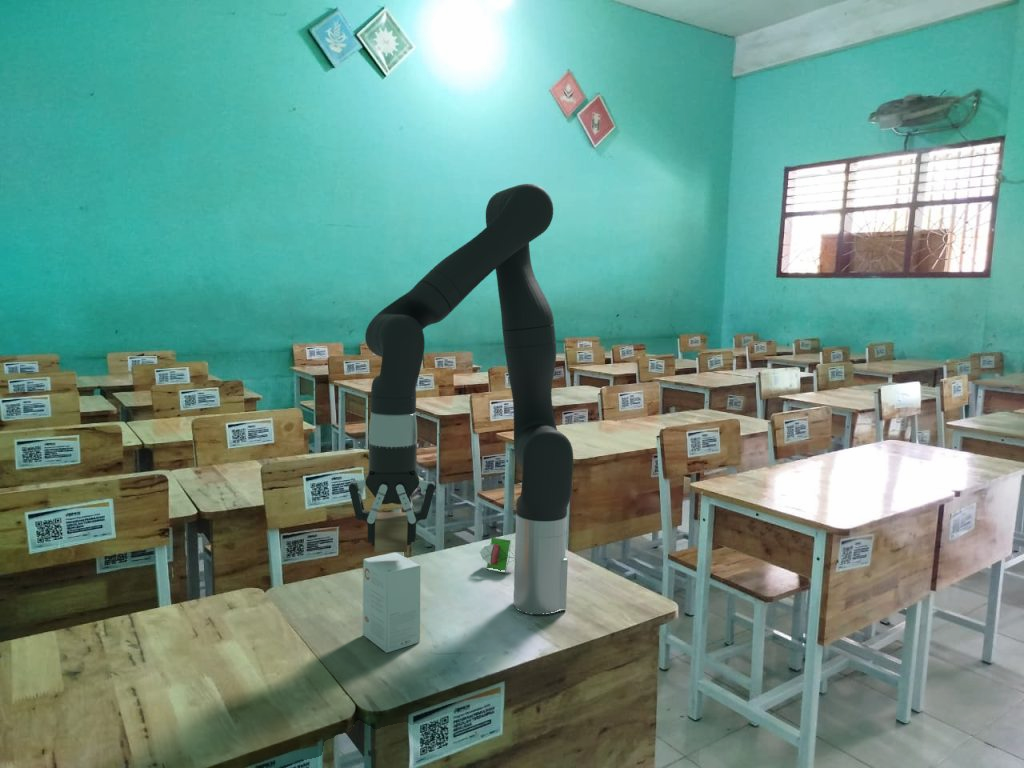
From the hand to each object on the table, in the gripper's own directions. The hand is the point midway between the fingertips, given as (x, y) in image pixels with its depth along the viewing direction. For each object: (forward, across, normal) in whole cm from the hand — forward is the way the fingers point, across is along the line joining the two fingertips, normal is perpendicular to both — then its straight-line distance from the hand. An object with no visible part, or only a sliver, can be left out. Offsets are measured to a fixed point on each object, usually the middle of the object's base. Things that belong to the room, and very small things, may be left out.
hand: (391, 544), depth 114 cm
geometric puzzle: (+16, -20, -30) cm, 39 cm away
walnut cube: (0, 0, 0) cm, 0 cm away
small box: (+16, 0, 0) cm, 16 cm away
